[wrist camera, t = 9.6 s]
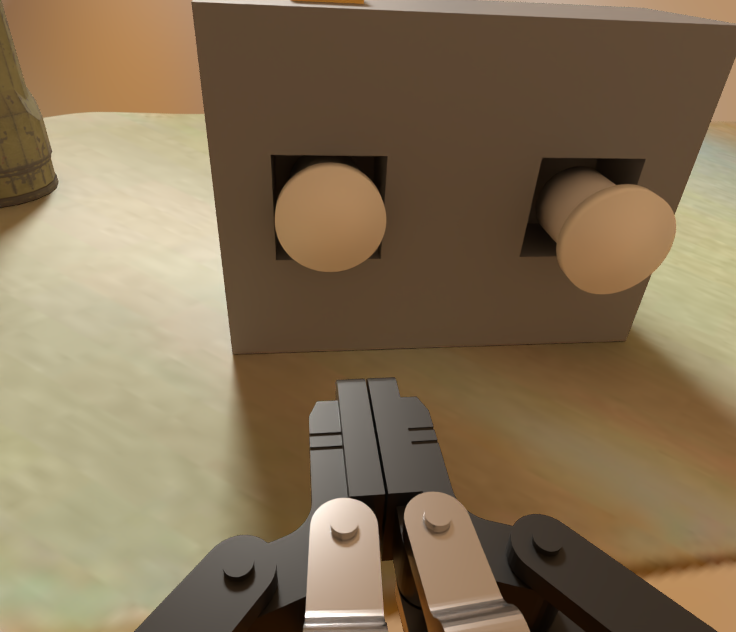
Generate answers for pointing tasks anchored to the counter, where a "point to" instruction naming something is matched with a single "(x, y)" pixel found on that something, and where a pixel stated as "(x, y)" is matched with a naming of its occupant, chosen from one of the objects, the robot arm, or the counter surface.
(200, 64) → the control panel
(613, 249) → the right button
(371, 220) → the left button
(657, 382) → the counter surface
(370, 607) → the robot arm
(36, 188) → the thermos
